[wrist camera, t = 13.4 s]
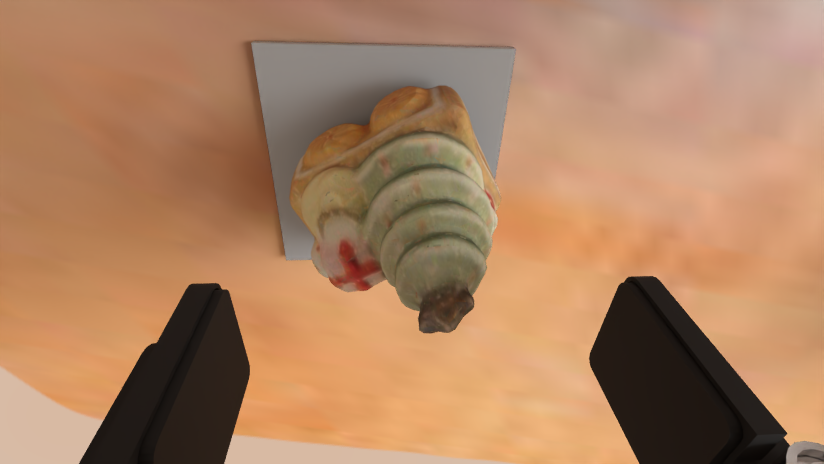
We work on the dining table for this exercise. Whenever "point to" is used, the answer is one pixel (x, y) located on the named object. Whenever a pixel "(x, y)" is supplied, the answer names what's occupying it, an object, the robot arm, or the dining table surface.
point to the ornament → (402, 204)
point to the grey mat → (365, 100)
